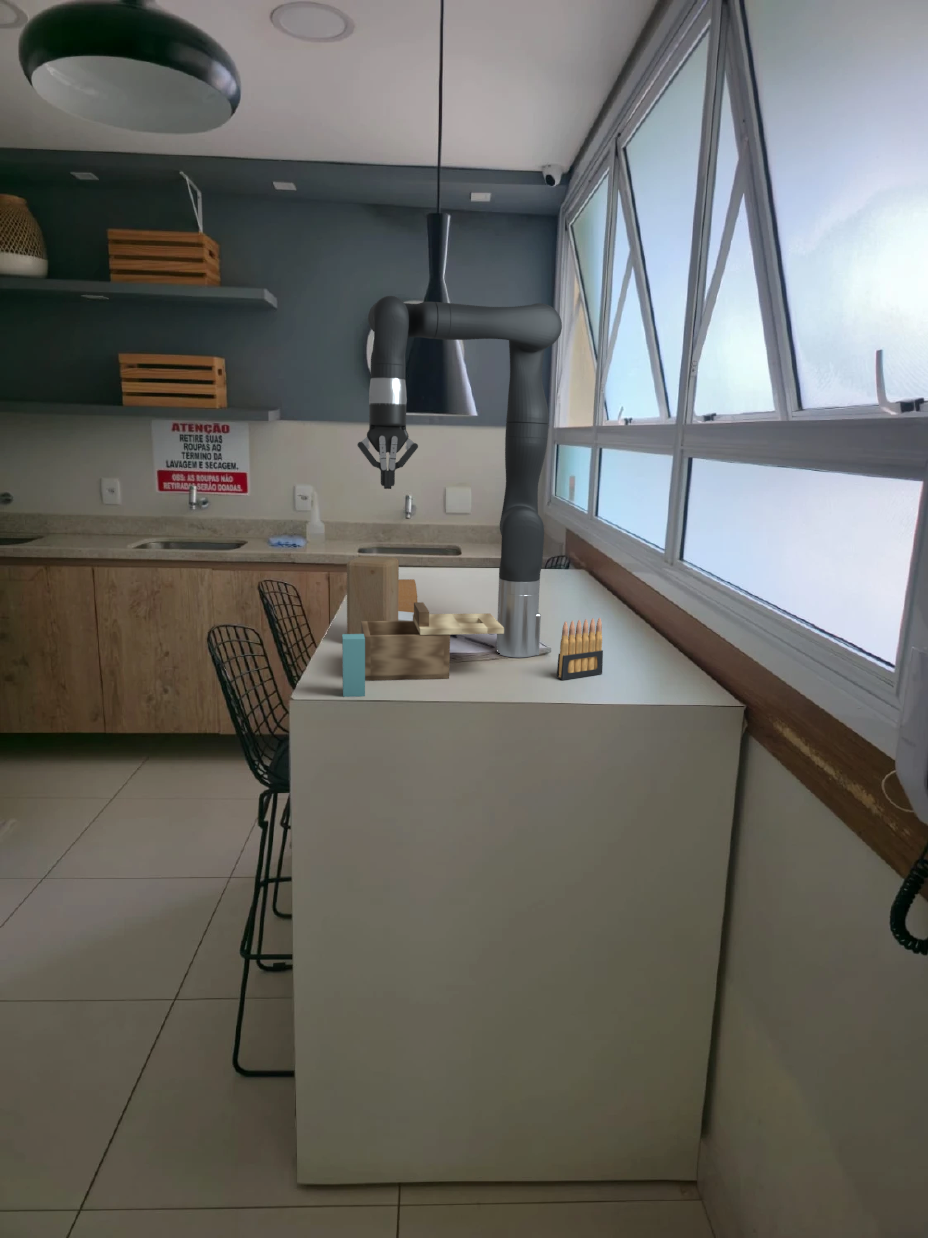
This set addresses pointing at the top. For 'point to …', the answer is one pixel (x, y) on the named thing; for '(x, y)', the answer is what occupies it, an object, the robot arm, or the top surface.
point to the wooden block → (371, 591)
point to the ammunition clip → (580, 651)
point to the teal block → (353, 664)
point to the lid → (454, 622)
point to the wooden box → (403, 652)
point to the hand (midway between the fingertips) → (387, 488)
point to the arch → (407, 595)
